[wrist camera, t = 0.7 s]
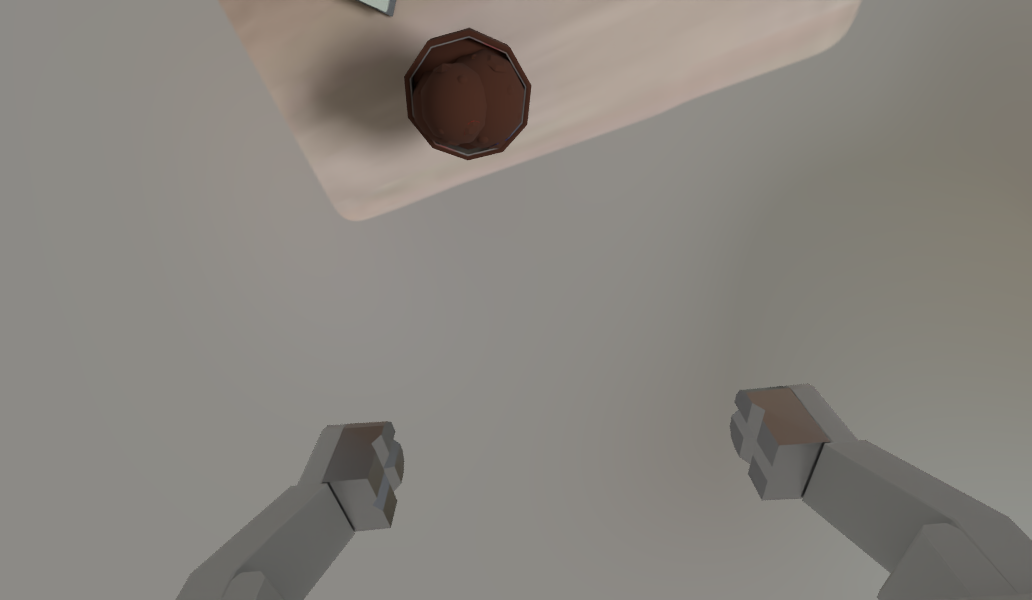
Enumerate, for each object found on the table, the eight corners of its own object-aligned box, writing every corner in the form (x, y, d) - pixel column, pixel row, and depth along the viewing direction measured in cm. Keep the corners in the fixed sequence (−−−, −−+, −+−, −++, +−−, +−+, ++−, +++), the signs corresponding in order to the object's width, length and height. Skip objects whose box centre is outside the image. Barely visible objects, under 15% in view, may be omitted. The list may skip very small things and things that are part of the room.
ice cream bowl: (420, 112, 48) (404, 190, 38) (412, -9, 40) (389, 49, 30) (517, 118, 50) (527, 196, 39) (528, 1, 41) (543, 61, 31)
